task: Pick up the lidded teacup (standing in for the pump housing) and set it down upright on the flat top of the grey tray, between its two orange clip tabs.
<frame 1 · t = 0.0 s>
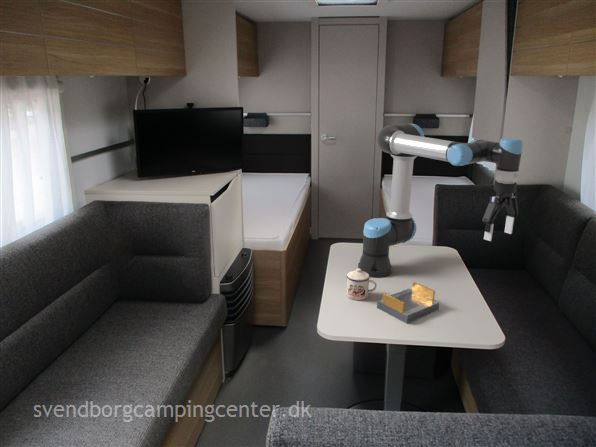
hand: (497, 236, 189), 28 cm above the table, fingers open, 13 cm apart
teacup with lid: (360, 296, 203), on the table
grey tray: (407, 308, 193), on the table
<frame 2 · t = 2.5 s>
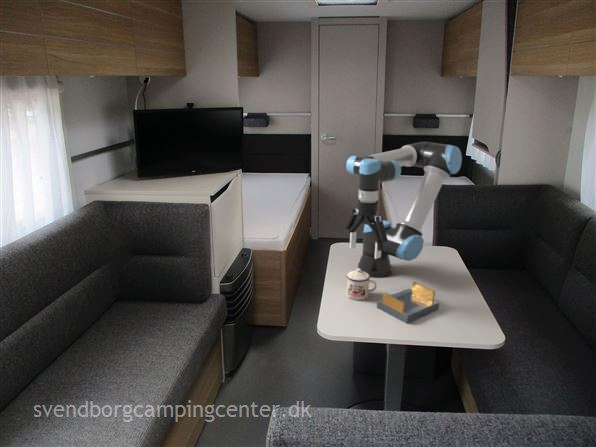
hand: (364, 252, 197), 19 cm above the table, fingers open, 13 cm apart
nothing on the table moved.
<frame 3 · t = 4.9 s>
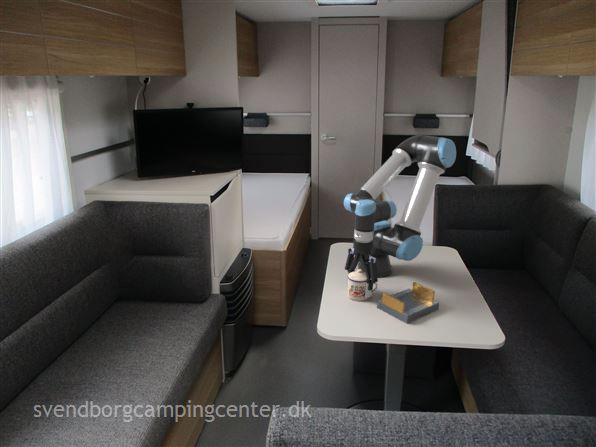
hand: (359, 292, 203), 2 cm above the table, fingers closed on teacup with lid, 9 cm apart
teacup with lid: (361, 297, 202), on the table, touching gripper
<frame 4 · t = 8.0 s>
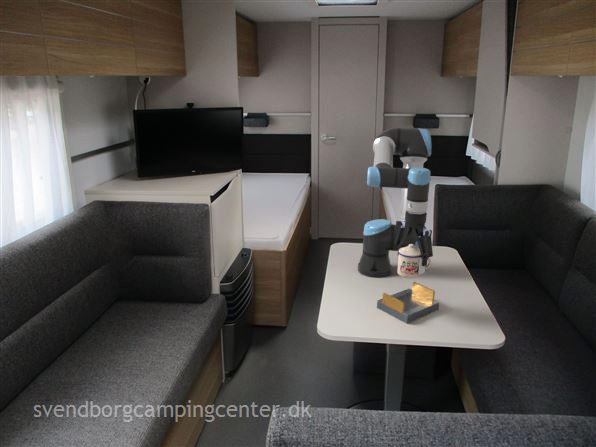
hand: (411, 269, 188), 17 cm above the table, fingers closed on teacup with lid, 9 cm apart
teacup with lid: (413, 274, 188), point 15 cm above the table, touching gripper
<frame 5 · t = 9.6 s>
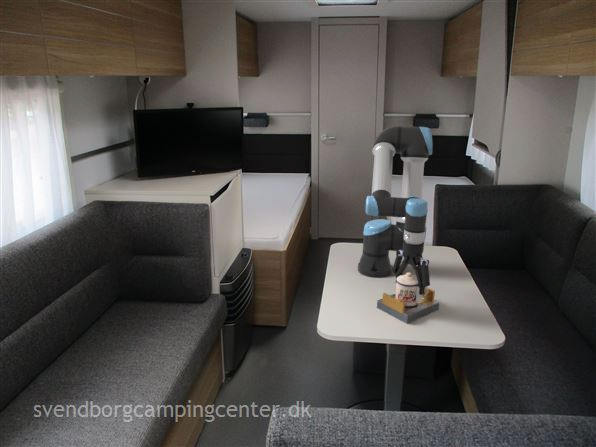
hand: (408, 296, 191), 5 cm above the table, fingers closed on teacup with lid, 9 cm apart
teacup with lid: (410, 302, 191), point 3 cm above the table, touching gripper
when the fingers open (5 cm above the table, at t = 10.8 s): teacup with lid stays where it is, resting on grey tray.
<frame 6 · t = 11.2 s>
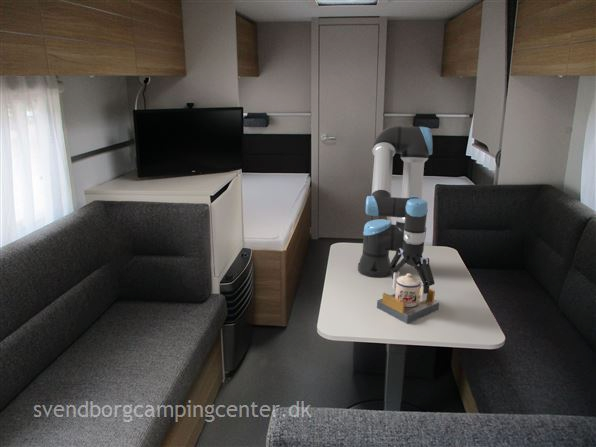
hand: (408, 293, 191), 6 cm above the table, fingers open, 13 cm apart
teacup with lid: (410, 303, 191), point 3 cm above the table, touching grey tray
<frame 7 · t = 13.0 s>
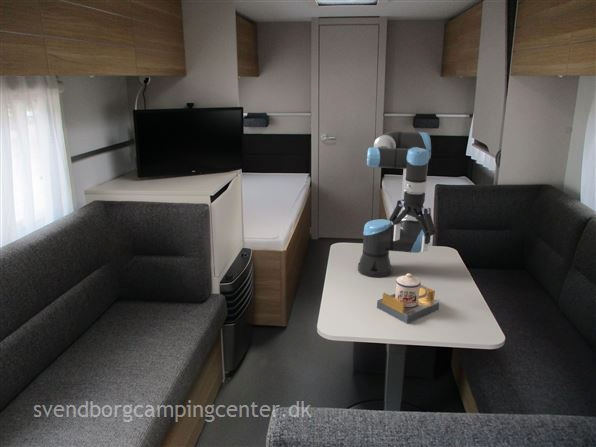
hand: (410, 245, 190), 24 cm above the table, fingers open, 13 cm apart
nothing on the table moved.
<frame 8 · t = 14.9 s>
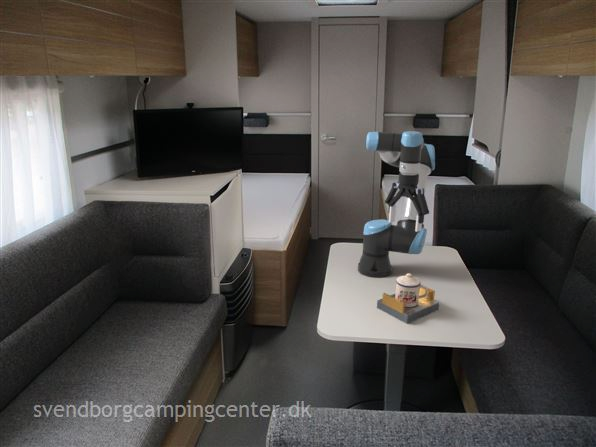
hand: (404, 226, 197), 29 cm above the table, fingers open, 13 cm apart
nothing on the table moved.
at the end: teacup with lid inside the target area on the grey tray (1.0 cm from its centre), point 2.8 cm above the grey tray's base; teacup with lid tilted 0°; the gripper is holding nothing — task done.
